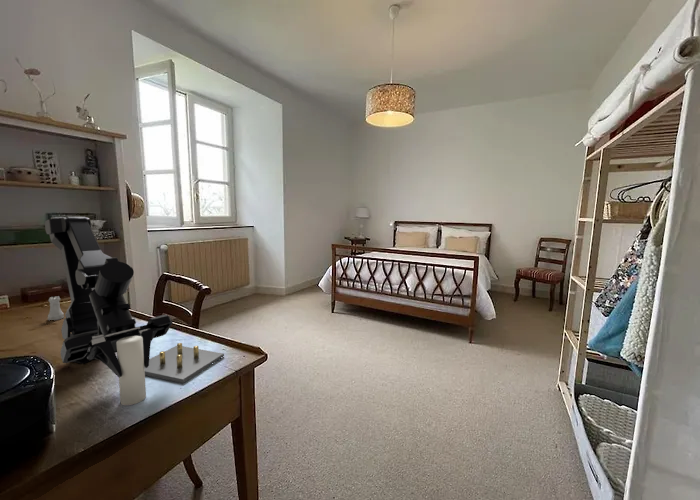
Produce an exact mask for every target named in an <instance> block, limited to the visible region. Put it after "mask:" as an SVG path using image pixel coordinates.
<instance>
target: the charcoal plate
mask: <svg viewBox="0 0 700 500" xmlns="http://www.w3.org/2000/svg"><path fill="white" fill-rule="evenodd" d="M223 356H224V357H225V353H223V352H219V351H211V350H206V349H201V348H199V345H194V346H193V347H190V346H183V343H182V342H179V343H177V344H176V345H175V346H173V347H171V348H169V349H168V350H165V351H164V350H163V351H160V352H159V354H157V355H155V356H152V357H149V366H148V368H145V366H144V369H145V376H149V377H153V378H156V379H161V380H167V381H170V382H175V383H180V384H185V383H186V382H188V381H190V379H192V378H194V377H195V376H196V375H199V374H201V373H202V372H203V371H205V370H206V369H208V368H209V367H210V366H209V365H211V364H212V363H214V362H216V361H217V360H219V359H220V358H221V357H223ZM224 357H223V358H224ZM220 360H221V359H220ZM220 360H219V361H220ZM217 362H218V361H217ZM217 362H216V363H217ZM214 364H215V363H214ZM212 365H213V364H212ZM212 365H211V366H212ZM208 366H209V367H208ZM207 367H208V368H207ZM205 368H206V369H205ZM204 369H205V370H204ZM202 370H203V371H202ZM201 371H202V372H201ZM198 373H199V374H198Z"/></svg>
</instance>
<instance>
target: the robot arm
mask: <svg viewBox="0 0 700 500" xmlns="http://www.w3.org/2000/svg"><path fill="white" fill-rule="evenodd" d="M91 222H92V221H91V219H90V218H89V217H86V216H81V215H80V216H75V215H72V216H51V217H50V219H47V220H45V222H44V230H45V233H46V235H49V239H50V242H51V243H52V244H53V245H54V246H55V247H56V248H58V249H59V250H60V251H61V257H62V260H63V266H64V271H65V276H66V277H65V278H66V281H67V282H66V283H67V287H68V292H69V297H70V304H69V305H68V308H67V309H66V312H65V313H64V318H63V321H62V326H61V329H60V330H61V335H62V339H63V342H62V345H61V348H60V357H61V360H62V361H61V362H62V364H68V363H71V362H72V363H76V364H81V365H82V364H83V365H84V364H86V363H88V362H91V361H92V360H97V361H100V362H102V363H103V364H104V365H105V366H106V367H108V369H110V370H111V372H113V374H115V376H117V377H118V378H119V377H121V376H122V371H121V367H120V364H119V362H118V359H117V344H116V342H117V341H118V340H120V339H122V338H125V337H130V336H141V337H143V352H144V366H145V368H148V366H149V359H150V358H151V357H150V355H151V344H152V343H151V342H153V340H154V339H157V338H159V337H163V336H165V335H166V334H167V333H168V331H169V330H170V328H171V327H172V325H173V320H172V318H171V316H170V315H167V314H162V315H158V316H155V317H154V316H153V317H151V318H149V319H148V320H147V323H146V324H144V325H139V326H136V323H137V321H136V319H135V318H133V317H132V314H131V312H130V308H131V306H130V303H129V302H128V303H127V302H126V299H125V297H124V294H126V293H127V292H128V289H129V286H130V284H131V281H132V279H133V276H134V273H135V272H134V268H133V267H132V266H130V265H129V264H128V263H126V262H124V261H123V262H122V261H119V259H118V257H112V256H109V255H108V254H106V253H104V252H103V251H102V248H101V246H100V245H99V242H98V240H97V238H96V236H95V234H94V232H93V230H92V223H91Z"/></svg>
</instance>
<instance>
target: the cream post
mask: <svg viewBox="0 0 700 500" xmlns="http://www.w3.org/2000/svg"><path fill="white" fill-rule="evenodd" d="M116 344H117V352H116V357H117V359H118V362H119V364H120V367H121V371H122V376H121V377H118V383H119V385H118V386H119V398H120V404H121V405H122V406H133V405H136V404H138V403H141V402H143V400H145V399H146V397H147V388H146V375H145V369H144V352H143V337H141V336H130V337H125V338H122V339H120V340H118V341H117V342H116Z"/></svg>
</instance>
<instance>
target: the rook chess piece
mask: <svg viewBox="0 0 700 500" xmlns="http://www.w3.org/2000/svg"><path fill="white" fill-rule="evenodd" d="M47 301H48V302H49V304H48V305H49V307H50V308H49V312H48V315H47V320H48V321H50V320H54V321H59V320H62V319H65V313H64V312H63V311H62V309H61V306H60V304H61V302H60V301H61V298H60V296H59V295H58V296H51V297H48V300H47Z"/></svg>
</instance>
